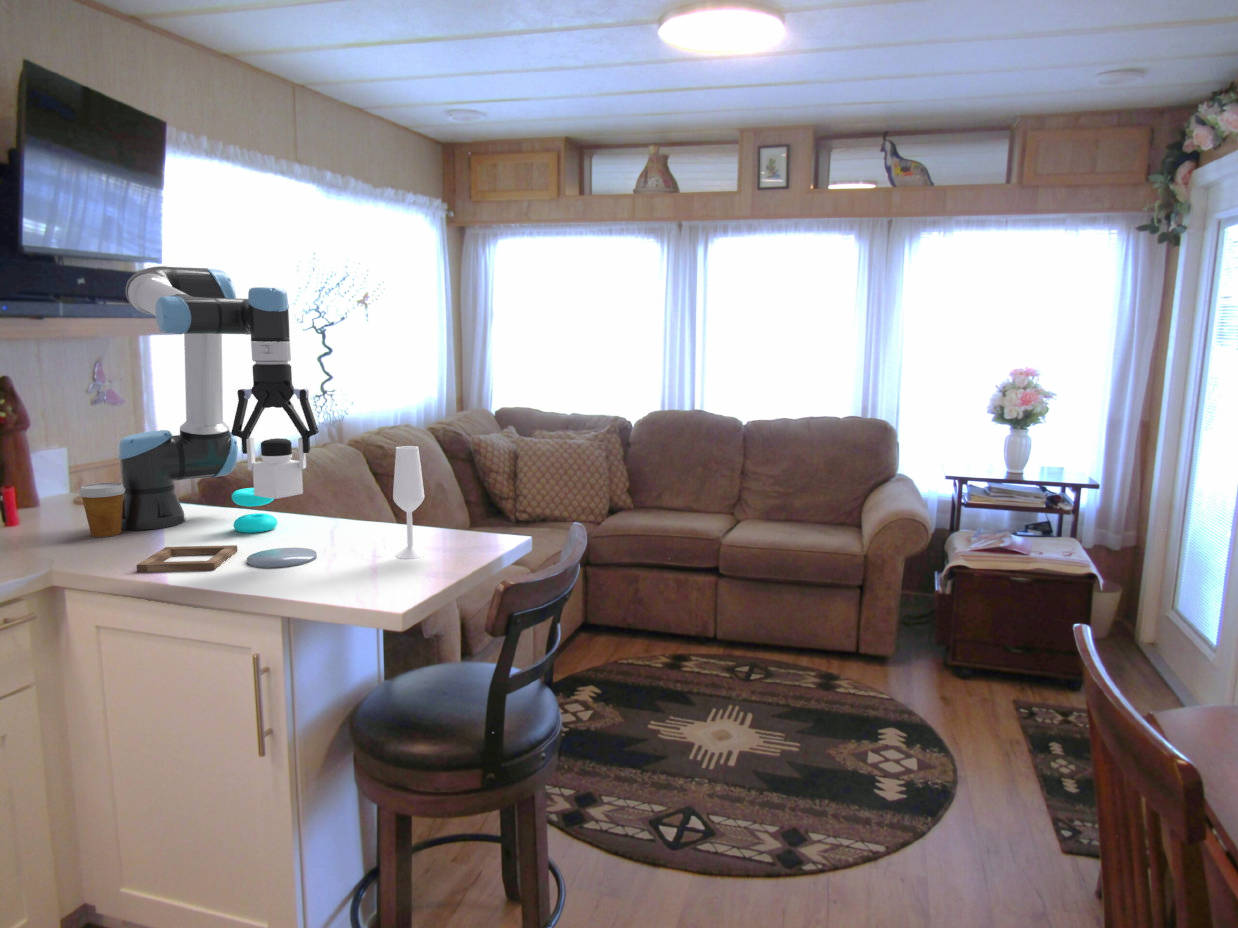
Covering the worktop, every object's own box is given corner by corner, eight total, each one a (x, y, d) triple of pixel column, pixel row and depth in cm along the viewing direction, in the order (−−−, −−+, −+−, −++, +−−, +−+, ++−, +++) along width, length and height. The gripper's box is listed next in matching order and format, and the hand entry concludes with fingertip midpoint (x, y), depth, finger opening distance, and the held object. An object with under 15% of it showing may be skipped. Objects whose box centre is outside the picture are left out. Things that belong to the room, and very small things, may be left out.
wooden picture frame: (166, 553, 186) (166, 546, 186) (237, 551, 188) (237, 545, 188) (136, 572, 172) (136, 564, 171) (214, 570, 173) (214, 562, 173)
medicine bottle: (304, 493, 181) (301, 438, 179) (275, 499, 175) (272, 442, 173) (282, 490, 185) (279, 436, 183) (253, 495, 179) (250, 439, 177)
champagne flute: (410, 560, 182) (407, 450, 178) (388, 555, 185) (384, 447, 182) (432, 553, 188) (429, 446, 184) (410, 549, 191) (407, 444, 188)
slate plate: (258, 551, 188) (257, 548, 188) (322, 550, 190) (322, 546, 190) (238, 568, 174) (237, 565, 174) (308, 566, 176) (308, 563, 176)
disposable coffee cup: (137, 530, 208) (133, 482, 206) (111, 539, 199) (106, 489, 197) (101, 529, 209) (97, 481, 207) (73, 538, 199) (68, 488, 198)
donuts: (242, 486, 213) (282, 486, 213) (245, 524, 215) (284, 525, 215) (223, 493, 204) (264, 493, 203) (226, 533, 205) (266, 534, 205)
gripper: (209, 363, 171) (216, 472, 174) (323, 363, 174) (328, 470, 177) (221, 362, 178) (228, 466, 182) (330, 362, 181) (335, 465, 184)
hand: (277, 468), depth 179 cm, fingers closed on medicine bottle, 10 cm apart
